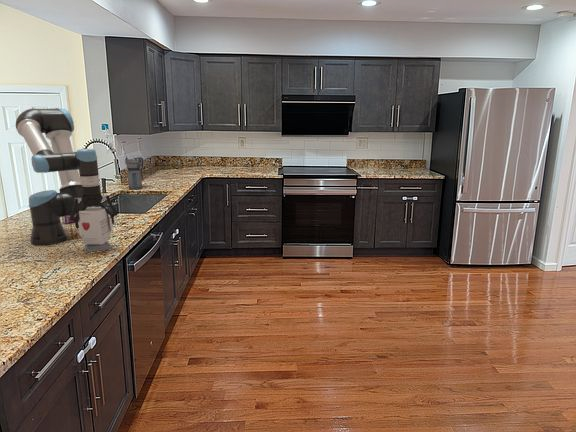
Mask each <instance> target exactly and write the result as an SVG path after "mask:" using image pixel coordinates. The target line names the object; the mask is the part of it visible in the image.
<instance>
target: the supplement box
mask: <svg viewBox="0 0 576 432" xmlns="http://www.w3.org/2000/svg"><path fill="white" fill-rule="evenodd" d="M105 207H106V208H107V209H108V210H109V208H108V207H107V206H105ZM79 217H80V225H81V232H82V236H81V239H82V244H83V245H85V244H104V243H105V242H107V241H109V240H111V239H112V236H111V235H112V233H111V231H110V224H109V217H110V215H109V214H108V213H107V212H106V211H105V209H103V208H102V207H100V206H92V207H88V208H86V209H85V211H79Z"/></svg>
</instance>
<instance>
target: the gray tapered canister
mask: <svg viewBox="0 0 576 432" xmlns="http://www.w3.org/2000/svg"><path fill="white" fill-rule="evenodd" d="M124 163H125V165H126V169H127V170H126V173H127V180H128V181H127V182H128V189H129V190H134V191H135V190H140V189H142V188H143V182H142V181H144V177H143V171H144V168H143V167H144V158H143V157H141V156H138V157H136V158H135V157H133V158H132V159H131V158H130V159H128V157H127V156H126V157H125V158H124Z"/></svg>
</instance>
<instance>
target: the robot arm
mask: <svg viewBox="0 0 576 432" xmlns="http://www.w3.org/2000/svg"><path fill="white" fill-rule="evenodd" d="M15 129H16V131H17V133H18V135H19V136H20V137H22V138H23V139H24V141H25V143H26V144H27V146H28V148H29V150H30V152H31V153H32V156H31V159H30V160H31V165H32V168H33V169H32V170H33V171H34V172H35V173H36V174H42V173H44V174H46V173H54V172H55V173H56V172H58V176H59V180H60V185H61V186H60V188H59V189H58V190H59V192H58V191H57V190H55V189H50V190H43V191H40V192H39V191H38V192H35V193H32V194H31V195H30V196H29V197H28V207H29V211H30V217H31V224H32V228H31V233H30V243H31V245H35V246H47V245H54V244H58V243H59V244H60V243H61V242H64V241H66V240H67V239H68V234H67V232H66V230H65V228H64V225H63V224H62V219H61V218H62V217H64V216H70V220H71V221H75V222H74V227H75V229H77V230H78V233H79V237H82V232H81V225H80V220H79V218H80V217H79V211H85V209H86V208H88V207H102V208H103V209H105V211H106V212H107V213H108V215H109V224H110V233H113V232H114V229H113V225H114V224H115V217H116V216H118V215H119V213H118V211H117V210H116V208H115V206H114V205H113V203H112V202H111V200H110V196H109V194H106V195H102V192H101V191H102V190H101V185H100V183H101V181H100V175H99V164H98V156H97V155H98V154H97V151H96V149H94V148H79V149H77V150H76V151H73V147H72V142H71V139H70V138H71V136H73V134H72V133H73V132H74V131H75V124H74V120H73V117H72V115H71V113H70V112H69V110H67V109H65V108H59V107H58V108H57V107H55V108H28V109H25V110H24V111H22V112H21V113H19V115H18V116H17V118H16V120H15ZM43 134H44V135H45V136H44V135H43ZM47 139H48V140H49V141H50V144H49V143H48V141H47ZM50 145H51V146H50ZM102 200H104V201H106V202H107V204H108V205H109V207H110V208H111V210H112V212H113V213H112V212H111V211H110V210H109V208H108V209H107V208H106V207H107V206H105V205H104V204H103V203H102ZM75 215H77V216H76V217H75V218H74V216H75Z"/></svg>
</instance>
